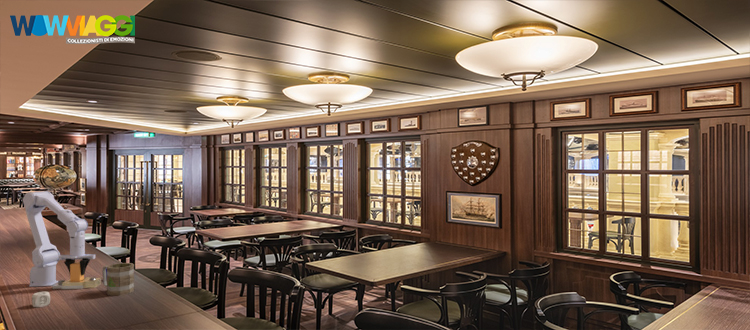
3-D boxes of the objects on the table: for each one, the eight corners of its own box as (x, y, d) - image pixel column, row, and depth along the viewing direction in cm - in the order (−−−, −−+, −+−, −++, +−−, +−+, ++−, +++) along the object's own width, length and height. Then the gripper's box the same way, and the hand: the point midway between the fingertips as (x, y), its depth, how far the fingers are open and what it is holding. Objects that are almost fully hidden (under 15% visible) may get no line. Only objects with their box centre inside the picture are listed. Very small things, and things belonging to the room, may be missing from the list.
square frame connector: (50, 289, 199) (50, 281, 199) (60, 284, 207) (60, 277, 207) (94, 288, 202) (94, 280, 202) (102, 283, 210) (102, 275, 210)
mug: (139, 290, 200) (140, 263, 199) (118, 297, 189) (119, 269, 189) (113, 286, 205) (114, 261, 205) (92, 293, 194) (92, 266, 194)
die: (46, 302, 181) (46, 290, 181) (50, 305, 178) (50, 293, 178) (31, 305, 177) (31, 293, 177) (35, 308, 174) (35, 295, 174)
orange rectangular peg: (70, 281, 202) (70, 264, 202) (74, 279, 206) (74, 262, 206) (79, 281, 202) (79, 264, 202) (83, 279, 206) (84, 262, 206)
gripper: (55, 247, 199) (55, 277, 199) (90, 247, 202) (90, 276, 202) (63, 244, 206) (63, 273, 206) (97, 244, 208) (97, 272, 209)
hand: (77, 274), depth 204 cm, fingers closed on orange rectangular peg, 4 cm apart
